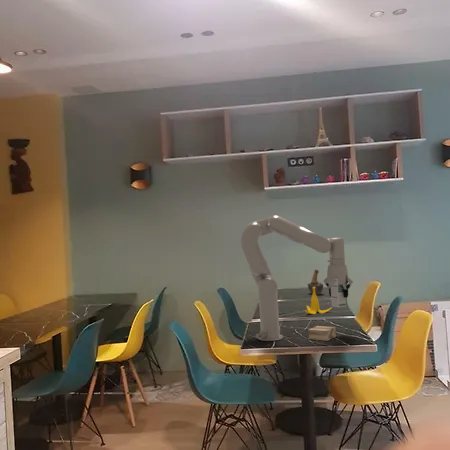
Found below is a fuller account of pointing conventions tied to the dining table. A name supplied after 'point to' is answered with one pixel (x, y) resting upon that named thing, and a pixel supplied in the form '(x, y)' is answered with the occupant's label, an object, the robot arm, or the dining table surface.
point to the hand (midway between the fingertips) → (338, 296)
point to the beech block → (322, 333)
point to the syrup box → (338, 295)
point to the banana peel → (315, 305)
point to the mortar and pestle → (315, 284)
